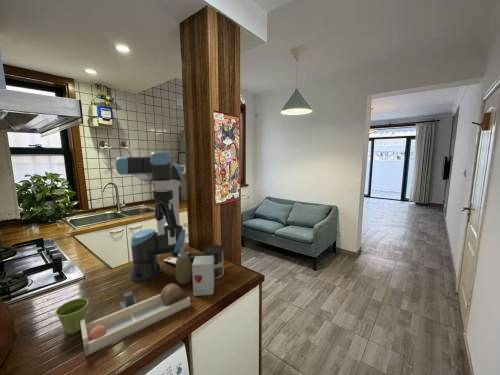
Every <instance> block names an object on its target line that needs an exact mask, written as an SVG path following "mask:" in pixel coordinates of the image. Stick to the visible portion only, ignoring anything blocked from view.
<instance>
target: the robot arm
mask: <svg viewBox="0 0 500 375" xmlns="http://www.w3.org/2000/svg"><path fill="white" fill-rule="evenodd" d="M181 167H182V166H181V165H180V163H173V160H172V158H171V153H169V152H168V151H166V152H165V151H164V152H163V151H160V152H159V151H158V152H157V151H156V152H151V153H150V156H120V157H119V156H118V157H117V158H116V159H115V170H116V172H117V173H118V175H120V176H121V175H125V176H127V175H132V176H134V177H136V178H137V179H138V180H139V181H142V182H146V183H150V184H151V186H152V190H153V193H152V194H153V196H152V197H153V200H154V201H155V208H154V209H155V210H154V219H155V220H156V229H157V230H155V229H154V228H148V229H144V230H140V231H138V232H134V233H133V235H131V238H130V246H131V255H132V265H131V268H130V272H129V277H130V280H131V281H132V282H135V283H142V282H149V281H150V280H154V279H156V278H157V277H159V276H160V275H161V274H162V273H163V272H162V271H163V270H162V269H163V268H162V265H161V263H160V261H159V259H158V255H167V254H172V253H174V254H176V253H180V250H181V247H184V248H185V243H186V229H184V227H183V225H181V223H180V198H179V187H180V186H181V185H182V184H181V183H183V182H184V179H183V172H182V168H181ZM156 231H157V232H156Z"/></svg>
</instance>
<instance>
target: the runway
mask: <svg viewBox="0 0 500 375" xmlns="http://www.w3.org/2000/svg"><path fill="white" fill-rule="evenodd" d="M189 307H191V298H190V296H187V297H185V299H183V300H181V301H178V302H176V303H174V304H172V305H169V306H166V305H165V304H164V302H163V301H162V300H161V293H159V294H157V295H154V296H152V297H149V298H147V299H145V300H141V301H139V302H138V303H137V304H134V305H132V306H129V307H127V308H125V309H119V310H117V311H115V312H113V313H110V314H107V315H105V316H103V317H100V318H98V319H95V320H93V321H90V322H88V323H86V324H85V320H84V319H81V320H80V324H81V329H80V331H81V337H82V343H83V350H84V356H85V357H87V356H90V355H91V354H94V353H95V352H98V351H100V350H102V349H104V348H106V347H108V346H110V345H112V344H114V343H116V342H118V341H120V340H122V339H124V338H127V337H129V336H131V335H132V334H136V333H137V332H139V331H142V330H143V329H146V328H147V327H150V326H151V325H153V324H155V323H158V322H160V321H161V320H164V319H166V318H168V317H170V316H172V315H174V314H177V313H178V312H180V311H183V310H184V309H186V308H189ZM99 325H103V326H105V327H106V329H107V334H105V335H103V336H101V337H99V338H96V339H94V340H92V341H90V340H89V334H90V332H91V330H92V329H93V328H95V327H96V326H99Z"/></svg>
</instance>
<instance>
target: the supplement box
mask: <svg viewBox="0 0 500 375" xmlns="http://www.w3.org/2000/svg"><path fill="white" fill-rule="evenodd" d="M191 270H192V294H193V297H195V296H197V297H199V296H211V295H212V296H213V295H214V290H215V279H214V256H204V255H196V256H194V258H193V262H192V264H191Z"/></svg>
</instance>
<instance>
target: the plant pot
mask: <svg viewBox="0 0 500 375" xmlns="http://www.w3.org/2000/svg"><path fill="white" fill-rule="evenodd" d="M89 302H90V301H89V300H88V298H85V297H81V298H75V299H71V300H69V301H67V302H64V303H63V304H61V305H60V306H58V308H57V309H56V310H55V311H54V312H55V314H54V315H55V316H57V318H58V319H59V322H60V323H61V326H62V328H63V331H64V333H65V334H66V335H71V334H72V335H73V334H75V333H76V334H77V333H78V332H79V331H81V324H80V320H81V319H84V320H85V324H87V308H88V305H89Z"/></svg>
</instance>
